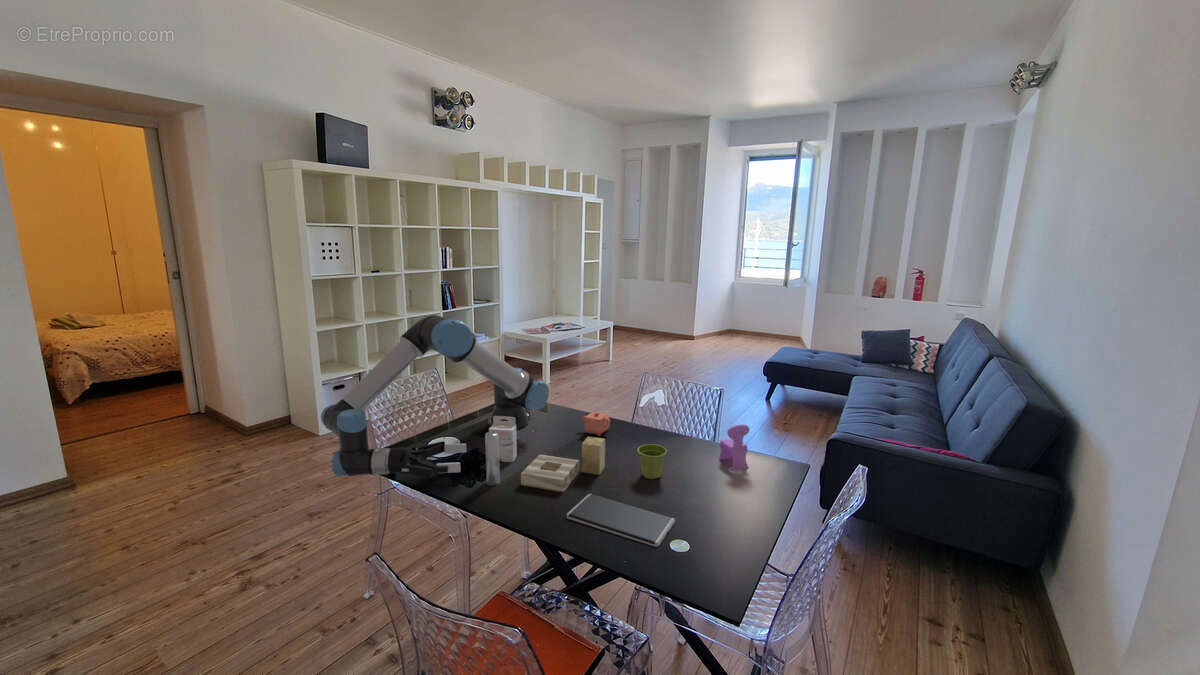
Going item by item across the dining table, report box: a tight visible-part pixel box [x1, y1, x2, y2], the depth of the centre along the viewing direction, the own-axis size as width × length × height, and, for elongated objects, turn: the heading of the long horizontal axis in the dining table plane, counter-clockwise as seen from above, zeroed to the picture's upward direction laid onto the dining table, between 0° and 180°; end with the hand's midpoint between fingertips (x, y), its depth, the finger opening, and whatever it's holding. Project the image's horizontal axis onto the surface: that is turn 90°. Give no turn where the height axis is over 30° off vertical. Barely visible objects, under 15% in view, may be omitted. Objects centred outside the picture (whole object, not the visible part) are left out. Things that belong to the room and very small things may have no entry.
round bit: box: [484, 431, 501, 486], centre depth 151 cm, size 4×4×16 cm
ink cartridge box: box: [488, 416, 518, 463], centre depth 168 cm, size 9×5×15 cm, turn 84°
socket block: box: [520, 454, 580, 493], centre depth 155 cm, size 14×14×4 cm
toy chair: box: [718, 424, 750, 471], centre depth 166 cm, size 8×9×15 cm
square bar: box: [581, 436, 606, 476], centre depth 161 cm, size 6×6×10 cm
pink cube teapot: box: [581, 410, 611, 437], centre depth 193 cm, size 8×12×8 cm, turn 63°
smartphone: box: [566, 493, 676, 548], centre depth 133 cm, size 13×27×2 cm, turn 62°
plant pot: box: [637, 443, 668, 480], centre depth 158 cm, size 9×9×9 cm
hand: (463, 457), depth 150 cm, fingers open, 13 cm apart
